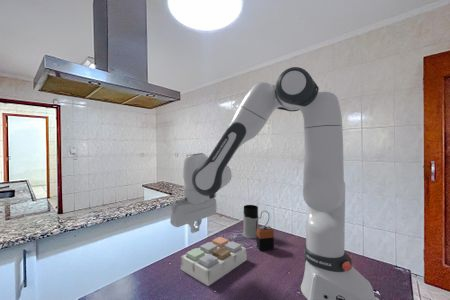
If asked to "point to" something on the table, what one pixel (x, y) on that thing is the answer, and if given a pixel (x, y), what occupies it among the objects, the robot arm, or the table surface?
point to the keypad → (214, 262)
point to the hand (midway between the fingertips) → (195, 231)
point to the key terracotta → (220, 242)
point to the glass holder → (251, 221)
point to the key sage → (195, 254)
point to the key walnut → (221, 253)
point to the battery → (265, 238)
